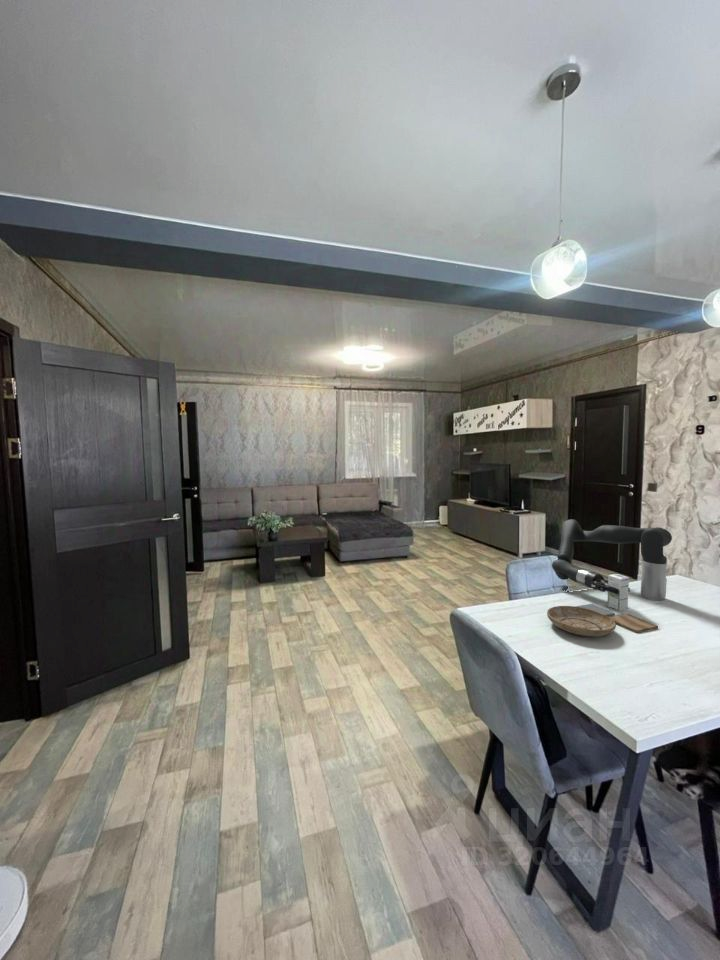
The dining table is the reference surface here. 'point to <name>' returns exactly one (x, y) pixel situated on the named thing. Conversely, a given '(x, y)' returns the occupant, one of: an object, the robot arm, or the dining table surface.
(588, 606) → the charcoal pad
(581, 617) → the ceramic bowl
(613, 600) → the syrup box
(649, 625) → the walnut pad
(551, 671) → the dining table surface
